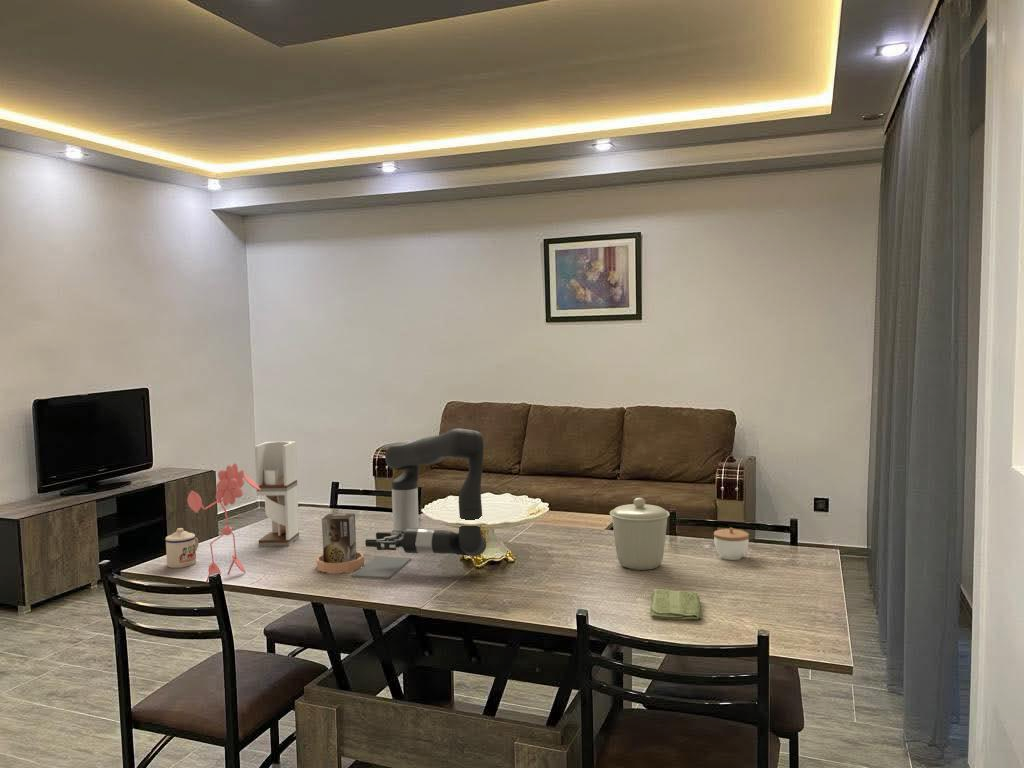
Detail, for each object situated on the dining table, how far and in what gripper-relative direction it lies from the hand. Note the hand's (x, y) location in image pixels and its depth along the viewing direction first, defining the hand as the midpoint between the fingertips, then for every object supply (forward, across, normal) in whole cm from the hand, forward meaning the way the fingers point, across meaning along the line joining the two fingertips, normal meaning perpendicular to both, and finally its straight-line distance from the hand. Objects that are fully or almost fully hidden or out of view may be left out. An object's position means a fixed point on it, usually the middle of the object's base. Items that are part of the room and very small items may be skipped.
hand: (371, 539), depth 241 cm
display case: (+45, -25, +9) cm, 52 cm away
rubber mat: (-3, 0, +9) cm, 10 cm away
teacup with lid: (+63, +4, +9) cm, 63 cm away
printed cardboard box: (+11, 0, +9) cm, 14 cm away
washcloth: (-93, +23, +10) cm, 96 cm away
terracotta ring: (+11, 0, +9) cm, 14 cm away
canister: (-82, -14, +9) cm, 84 cm away
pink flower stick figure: (+36, +18, +9) cm, 41 cm away
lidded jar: (-110, -27, +9) cm, 114 cm away
